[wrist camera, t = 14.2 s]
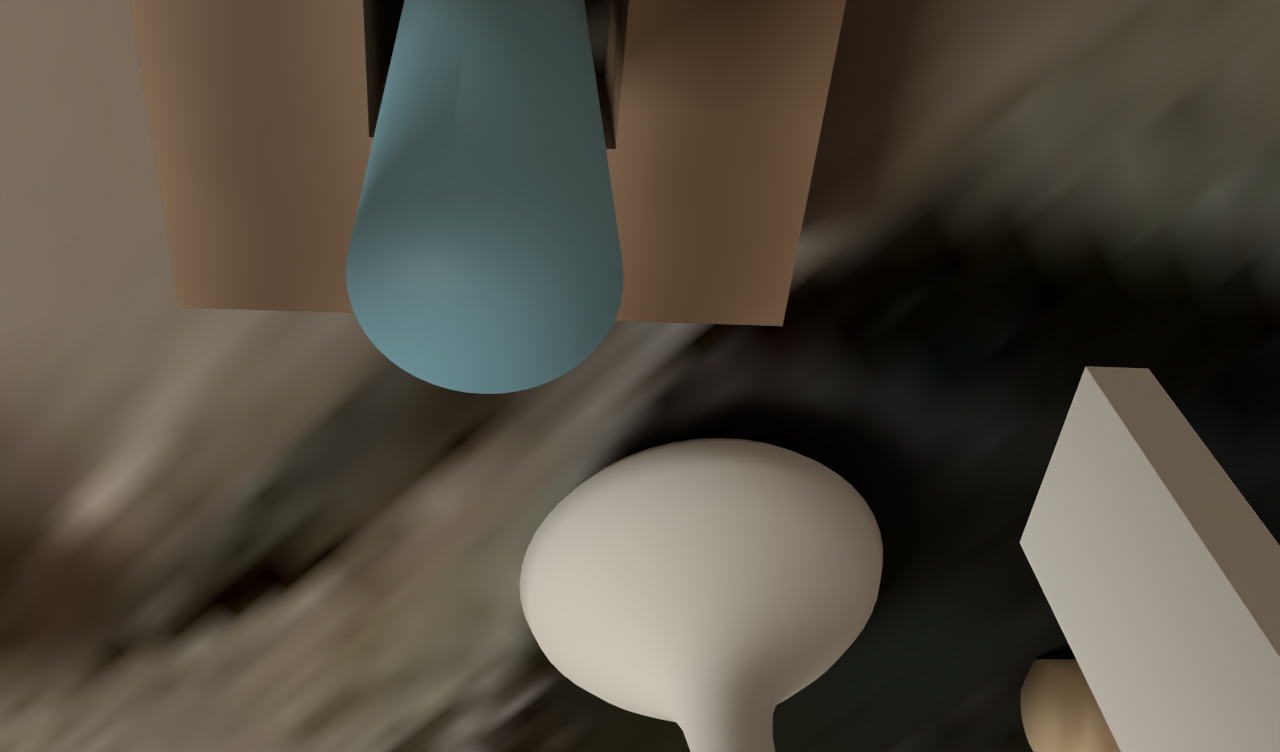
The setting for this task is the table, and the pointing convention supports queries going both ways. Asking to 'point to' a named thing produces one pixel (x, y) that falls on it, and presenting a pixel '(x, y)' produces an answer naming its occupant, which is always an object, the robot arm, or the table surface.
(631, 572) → the flower in vase
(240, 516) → the table surface
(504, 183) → the peg
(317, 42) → the socket
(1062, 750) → the lying peg
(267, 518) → the table surface
